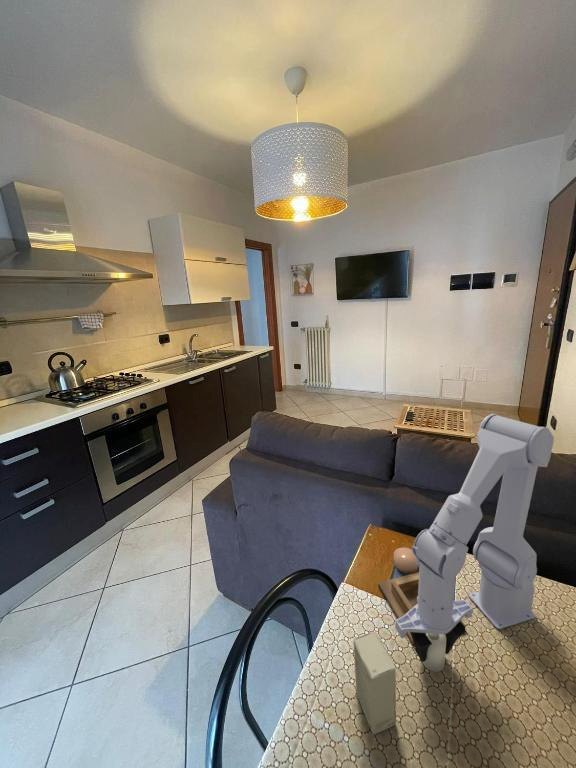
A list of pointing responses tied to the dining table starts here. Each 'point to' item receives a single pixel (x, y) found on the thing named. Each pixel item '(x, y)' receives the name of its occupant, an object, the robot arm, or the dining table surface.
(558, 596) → the dining table surface
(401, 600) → the caddy
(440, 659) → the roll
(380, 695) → the skincare box
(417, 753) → the dining table surface
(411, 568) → the tan oval ball
